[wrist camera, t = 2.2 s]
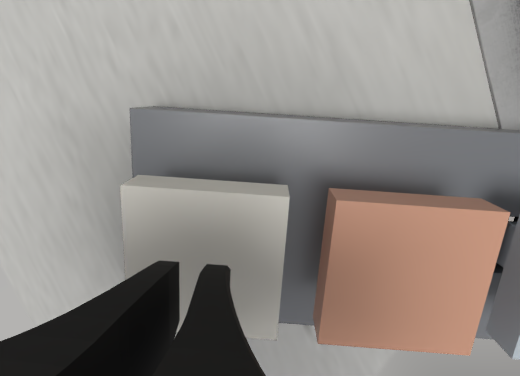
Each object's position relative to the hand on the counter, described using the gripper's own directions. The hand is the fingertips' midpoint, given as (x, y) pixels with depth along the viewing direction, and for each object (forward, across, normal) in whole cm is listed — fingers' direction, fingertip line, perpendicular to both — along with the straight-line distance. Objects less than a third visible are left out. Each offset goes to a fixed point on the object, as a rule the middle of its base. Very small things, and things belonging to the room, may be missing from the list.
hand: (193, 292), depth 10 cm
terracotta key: (+6, -7, 0) cm, 9 cm away
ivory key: (+6, 0, 0) cm, 6 cm away
